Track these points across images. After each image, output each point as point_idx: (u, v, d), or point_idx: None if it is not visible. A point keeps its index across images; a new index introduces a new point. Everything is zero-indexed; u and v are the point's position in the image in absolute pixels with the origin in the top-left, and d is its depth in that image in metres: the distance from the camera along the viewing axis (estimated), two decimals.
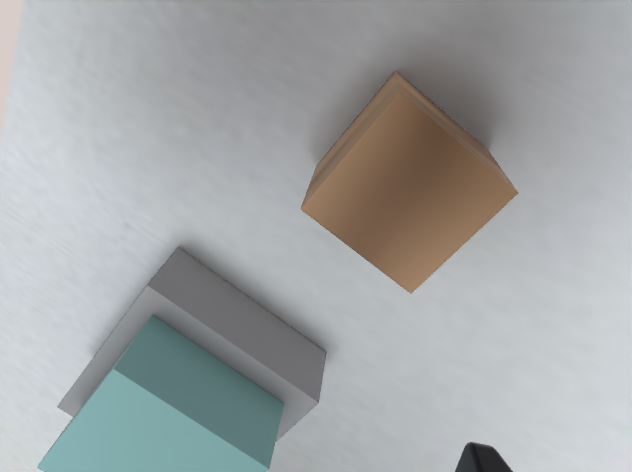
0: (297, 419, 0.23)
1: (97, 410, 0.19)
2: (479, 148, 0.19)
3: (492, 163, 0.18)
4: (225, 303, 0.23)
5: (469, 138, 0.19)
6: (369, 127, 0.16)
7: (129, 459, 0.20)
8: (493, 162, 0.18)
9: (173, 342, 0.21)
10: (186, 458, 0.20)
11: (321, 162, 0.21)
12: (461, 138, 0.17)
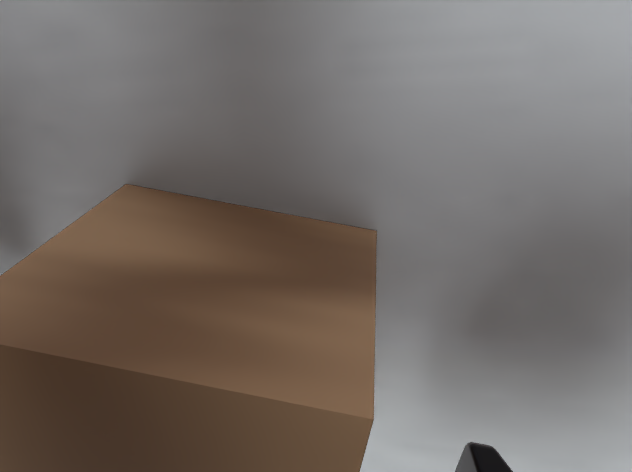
0: None
1: None
2: (316, 267, 0.08)
3: (330, 311, 0.07)
4: None
5: (297, 248, 0.09)
6: None
7: None
8: (349, 292, 0.08)
9: None
10: None
11: None
12: (216, 305, 0.07)
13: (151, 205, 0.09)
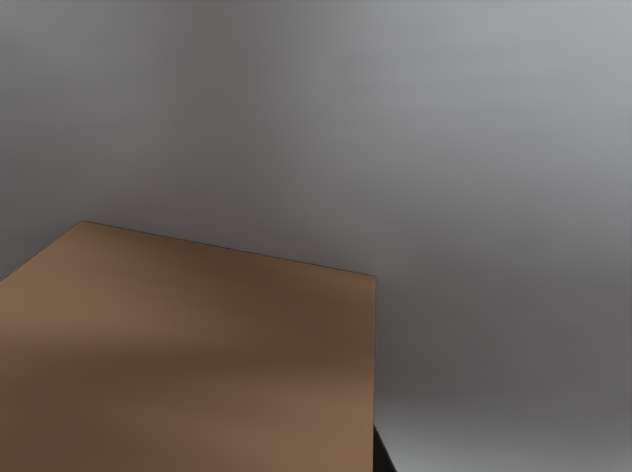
0: None
1: None
2: (300, 336, 0.07)
3: (316, 406, 0.06)
4: None
5: (278, 309, 0.07)
6: None
7: None
8: (340, 373, 0.06)
9: None
10: None
11: None
12: (167, 402, 0.05)
13: (105, 252, 0.08)
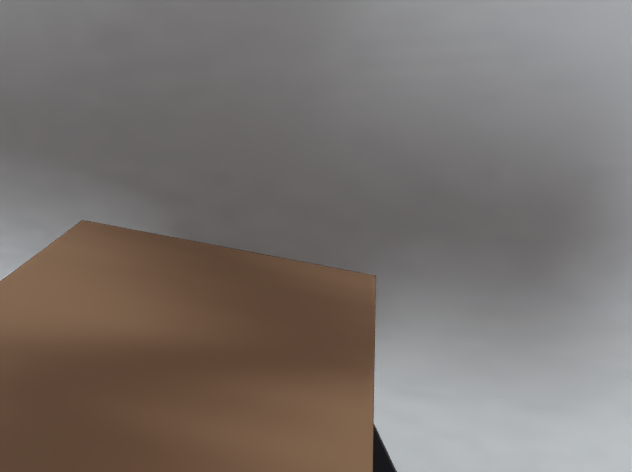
0: None
1: None
2: (301, 335, 0.07)
3: (316, 404, 0.06)
4: None
5: (279, 308, 0.07)
6: None
7: None
8: (340, 371, 0.06)
9: None
10: None
11: None
12: (168, 400, 0.05)
13: (105, 251, 0.08)
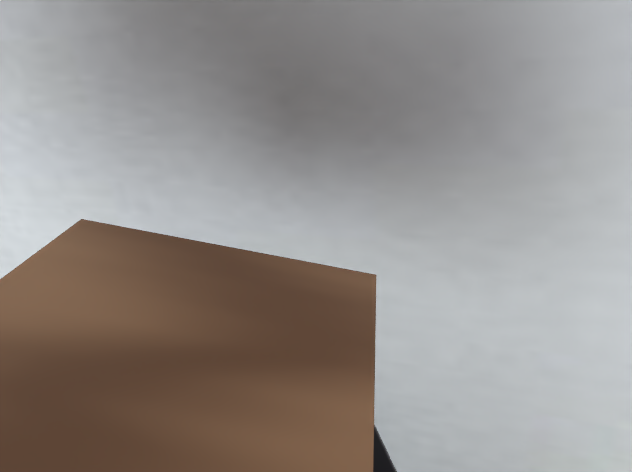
0: None
1: None
2: (301, 334, 0.07)
3: (316, 403, 0.06)
4: None
5: (279, 307, 0.07)
6: None
7: None
8: (341, 371, 0.06)
9: None
10: None
11: None
12: (167, 400, 0.05)
13: (105, 250, 0.08)
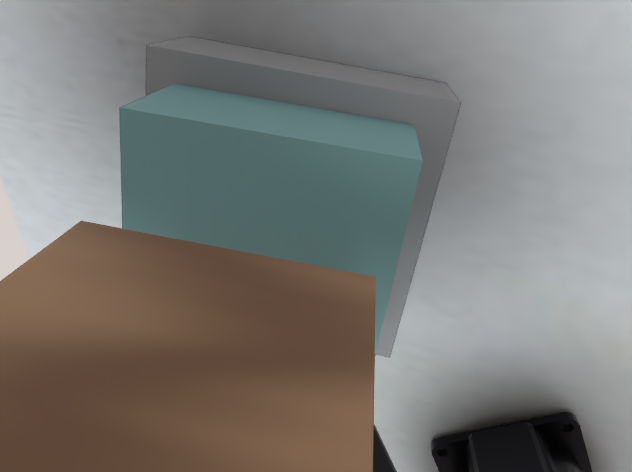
0: (443, 151, 0.15)
1: (141, 200, 0.13)
2: (300, 336, 0.07)
3: (316, 406, 0.06)
4: (272, 57, 0.16)
5: (278, 309, 0.07)
6: None
7: None
8: (340, 373, 0.06)
9: (214, 95, 0.14)
10: (294, 215, 0.12)
11: None
12: (166, 403, 0.05)
13: (104, 252, 0.08)
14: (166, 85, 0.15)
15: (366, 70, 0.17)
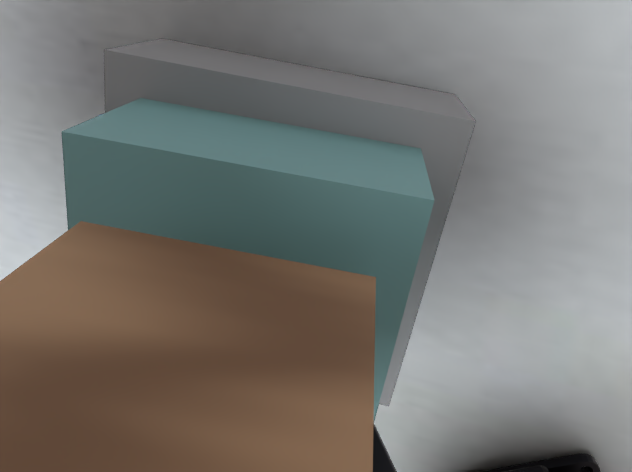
0: (454, 177, 0.13)
1: None
2: (300, 337, 0.07)
3: (316, 407, 0.06)
4: (255, 64, 0.14)
5: (278, 309, 0.07)
6: None
7: None
8: (340, 374, 0.06)
9: (185, 113, 0.12)
10: None
11: None
12: (166, 403, 0.05)
13: (104, 252, 0.08)
14: (128, 97, 0.13)
15: (364, 79, 0.15)
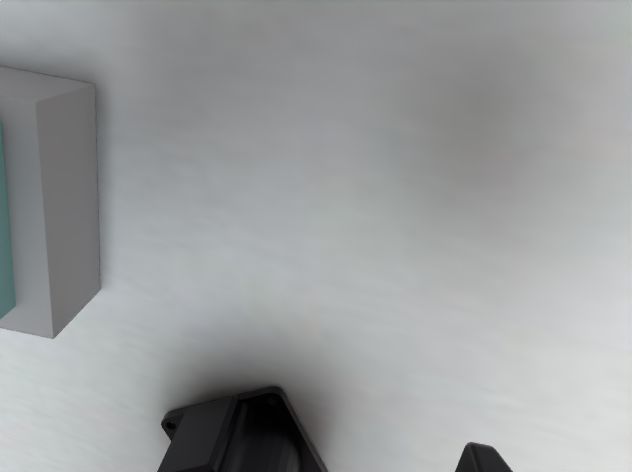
0: (35, 147, 0.16)
1: None
2: None
3: None
4: None
5: None
6: None
7: None
8: None
9: None
10: None
11: None
12: None
13: None
14: None
15: (14, 72, 0.18)
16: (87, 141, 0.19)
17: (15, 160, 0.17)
